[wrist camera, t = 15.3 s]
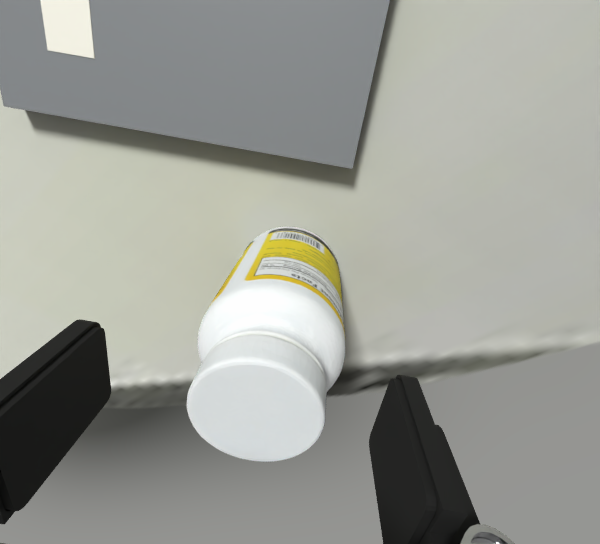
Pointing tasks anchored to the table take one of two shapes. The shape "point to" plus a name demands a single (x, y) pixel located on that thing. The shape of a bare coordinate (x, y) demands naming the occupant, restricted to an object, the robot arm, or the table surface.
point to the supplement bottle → (270, 349)
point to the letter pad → (200, 68)
